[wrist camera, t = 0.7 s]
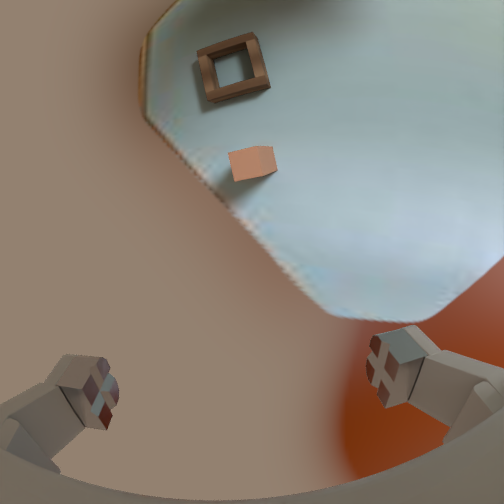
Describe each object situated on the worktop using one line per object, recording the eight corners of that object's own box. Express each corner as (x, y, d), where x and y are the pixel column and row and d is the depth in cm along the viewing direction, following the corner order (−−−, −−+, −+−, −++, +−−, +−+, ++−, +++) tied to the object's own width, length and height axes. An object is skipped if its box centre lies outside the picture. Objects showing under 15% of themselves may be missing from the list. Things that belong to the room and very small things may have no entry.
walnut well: (203, 55, 40) (196, 51, 37) (257, 38, 36) (252, 31, 34) (214, 103, 43) (207, 100, 40) (270, 87, 39) (266, 83, 37)
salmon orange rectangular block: (249, 151, 44) (227, 152, 35) (272, 146, 43) (256, 146, 34) (254, 174, 45) (234, 181, 36) (277, 170, 44) (263, 175, 35)
